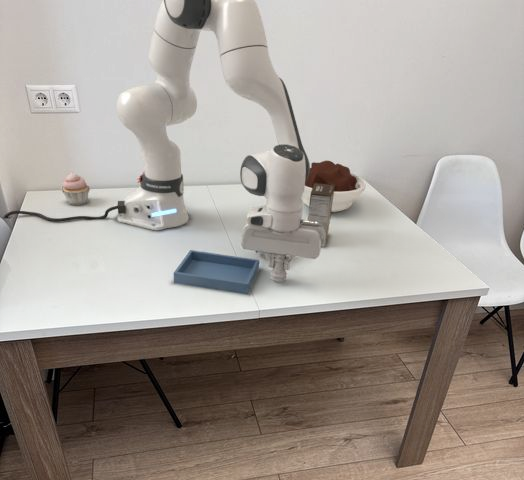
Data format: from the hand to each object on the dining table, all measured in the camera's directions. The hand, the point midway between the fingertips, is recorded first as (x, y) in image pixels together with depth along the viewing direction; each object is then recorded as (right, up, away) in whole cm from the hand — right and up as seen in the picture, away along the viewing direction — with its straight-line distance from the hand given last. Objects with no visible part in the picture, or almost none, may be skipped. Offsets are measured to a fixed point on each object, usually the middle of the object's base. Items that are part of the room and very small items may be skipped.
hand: (279, 267), depth 128 cm
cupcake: (-67, +29, +38) cm, 82 cm away
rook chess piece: (0, -3, +2) cm, 3 cm away
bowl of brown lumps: (+18, +30, +47) cm, 58 cm away
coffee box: (+12, +13, +24) cm, 30 cm away
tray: (-16, -2, +3) cm, 17 cm away
